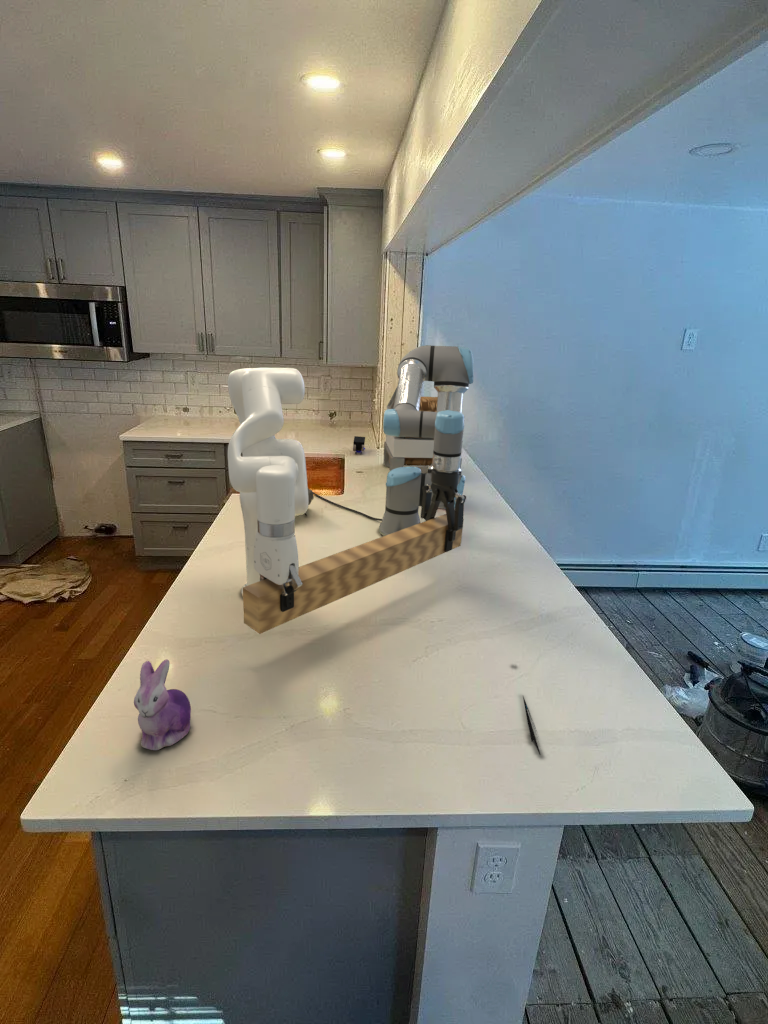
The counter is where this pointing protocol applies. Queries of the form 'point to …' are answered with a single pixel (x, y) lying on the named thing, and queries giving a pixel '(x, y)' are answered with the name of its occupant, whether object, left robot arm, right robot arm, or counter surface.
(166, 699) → the figurine
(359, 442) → the figurine character
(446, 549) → the right robot arm
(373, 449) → the counter surface
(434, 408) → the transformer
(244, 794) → the counter surface
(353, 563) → the beam
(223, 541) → the counter surface
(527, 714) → the feather
